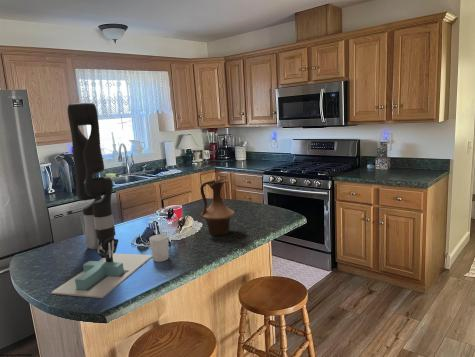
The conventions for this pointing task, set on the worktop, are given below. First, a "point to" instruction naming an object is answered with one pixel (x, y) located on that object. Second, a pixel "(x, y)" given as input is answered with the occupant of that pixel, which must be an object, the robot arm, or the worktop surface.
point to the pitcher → (216, 209)
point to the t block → (97, 273)
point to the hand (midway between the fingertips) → (110, 265)
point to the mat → (105, 277)
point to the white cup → (159, 247)
